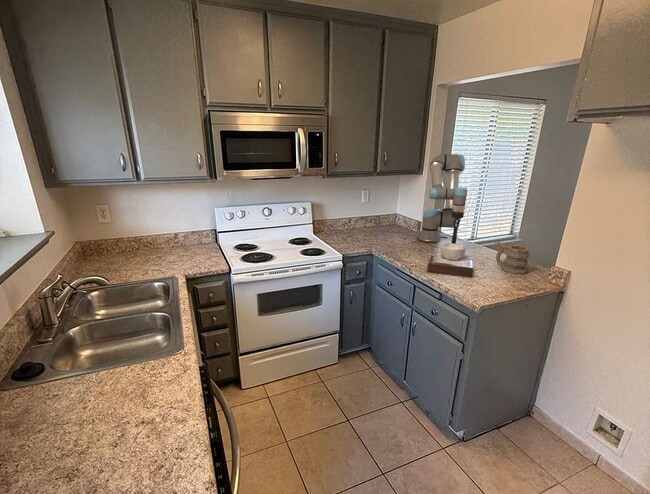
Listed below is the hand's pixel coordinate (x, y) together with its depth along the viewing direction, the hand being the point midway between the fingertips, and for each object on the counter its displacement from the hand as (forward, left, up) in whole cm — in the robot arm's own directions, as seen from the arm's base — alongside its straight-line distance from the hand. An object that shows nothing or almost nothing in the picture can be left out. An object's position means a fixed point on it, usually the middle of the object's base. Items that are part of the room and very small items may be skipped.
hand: (453, 246), depth 241 cm
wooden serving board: (+29, +20, -5) cm, 35 cm away
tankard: (-3, +38, -5) cm, 38 cm away
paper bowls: (+9, +6, -5) cm, 12 cm away
